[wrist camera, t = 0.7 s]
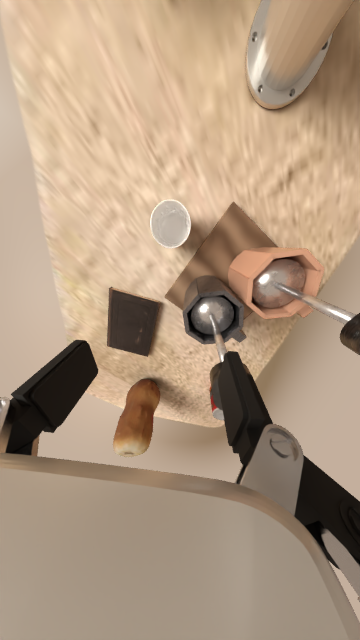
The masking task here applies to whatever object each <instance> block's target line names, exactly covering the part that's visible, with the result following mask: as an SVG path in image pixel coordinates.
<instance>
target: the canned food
mask: <svg viewBox="0 0 360 640" xmlns="http://www.w3.org/2000/svg"><path fill="white" fill-rule="evenodd" d="M210 398H211V406H212V413H213V416H214V417H215V418H216V419H219V420H224V415H223V411H222V410H220V409H219V408H217V407H216V406H215V404H214V402H213V395H212V388H211V387H210Z"/></svg>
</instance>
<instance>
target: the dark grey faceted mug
mask: <svg viewBox="0 0 360 640" xmlns="http://www.w3.org/2000/svg"><path fill="white" fill-rule="evenodd" d="M217 295H218V296H221V297H224V298H225V299H227V300H228V301H229V303H230V304H231V306H232V308H233V311H234V317H233V320H232V323H231V324H230V325H229V327H228V328H227V329H225V330H224V331H222V332H221V335H222V338H223V341H224V343H225V342H227V341H228V340H229V339H230V338H232V337H233V338H234V339H235V340H237V341H238V342H239V343H240V342H241V341H242V340H244V339H245V338H246V335H245V333H244V332H243V330H242V327H243V317H244V305H243V304H242V303H241V302H240V300H239V299H238V298H237V297H236V296H235V295H234V294H233V292H232V291H231V290H230V289H229V288H228V287H227V286H226V285H225V284H224V283H223V282H222V281H221V280H220V279H218V278H217V277H216V276H214V275H213V276H210V275H205V276H201V277H198V278H195V280H193V281H192V282H191V284H190V285H189V287H188V289H187V290H186V291H185V298H184V306H183V318H184V325H185V331H186V333H187V334H188V335H190V336H191V337H193V338H194V339H196V340H197V341H199V342H200V343H202V344H214V343H216V342H215V338H214V334H205V333H202V332H200V331H199V330H197V329H196V328H195V327H194V325H193V324H192V321H191V311H192V308H193V306H194V305H195V303H196V302H197V301H198V300H199V299H201V298H203V297H209V296H217Z"/></svg>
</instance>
